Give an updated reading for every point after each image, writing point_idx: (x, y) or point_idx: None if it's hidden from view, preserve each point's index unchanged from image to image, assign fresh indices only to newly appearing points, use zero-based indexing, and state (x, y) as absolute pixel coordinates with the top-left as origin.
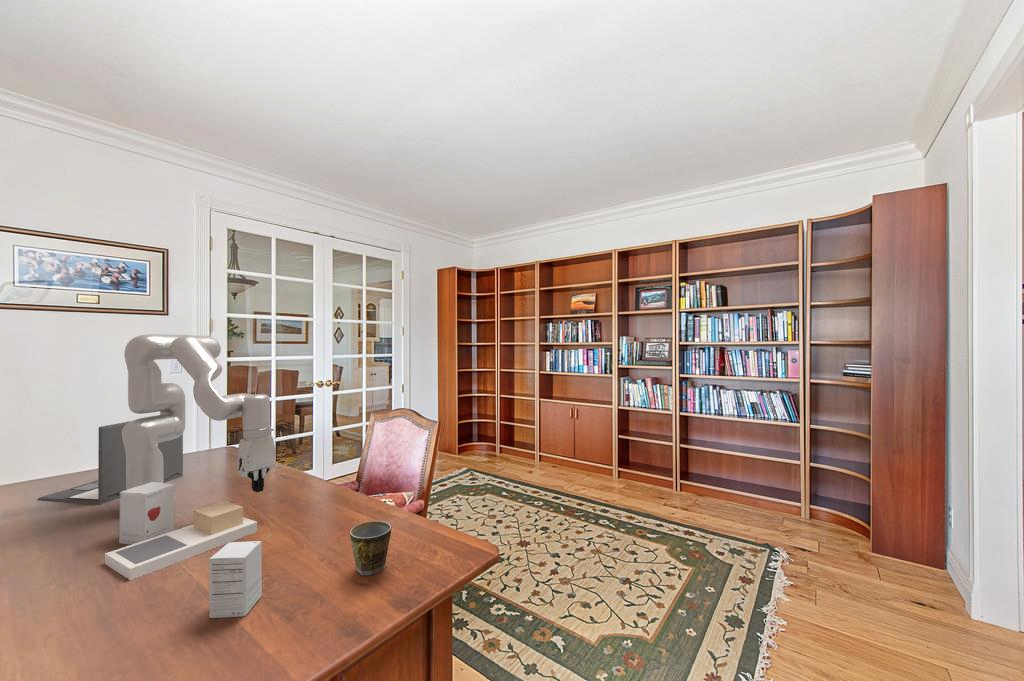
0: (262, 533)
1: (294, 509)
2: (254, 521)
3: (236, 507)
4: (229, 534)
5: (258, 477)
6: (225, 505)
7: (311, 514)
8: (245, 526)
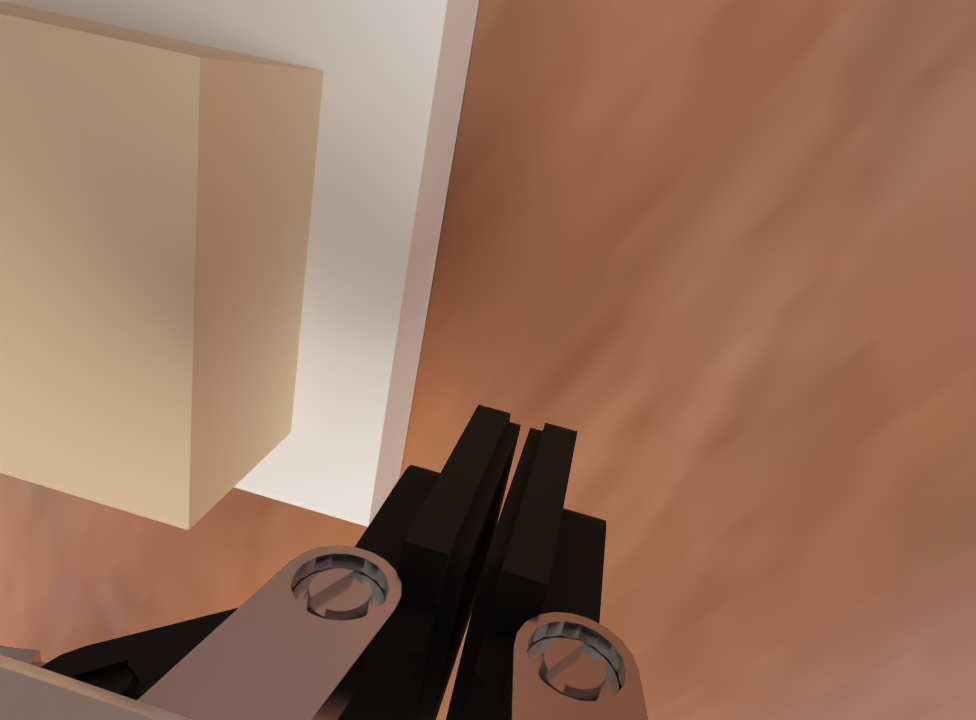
0: None
1: (966, 447)
2: (365, 496)
3: (141, 468)
4: None
5: (466, 699)
6: (104, 266)
7: (850, 674)
8: (266, 495)
